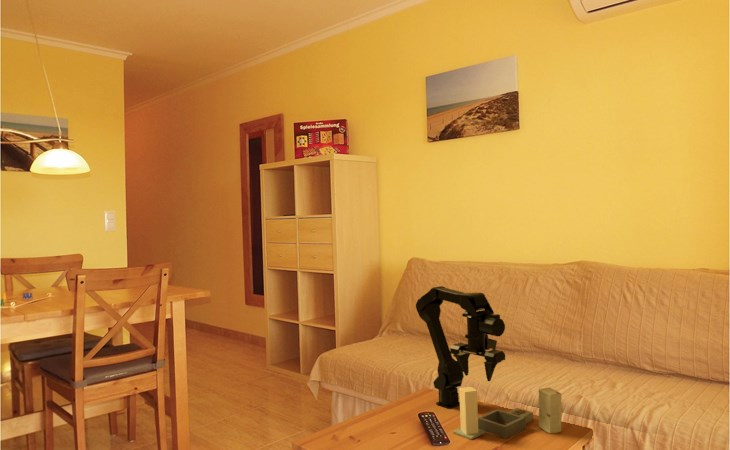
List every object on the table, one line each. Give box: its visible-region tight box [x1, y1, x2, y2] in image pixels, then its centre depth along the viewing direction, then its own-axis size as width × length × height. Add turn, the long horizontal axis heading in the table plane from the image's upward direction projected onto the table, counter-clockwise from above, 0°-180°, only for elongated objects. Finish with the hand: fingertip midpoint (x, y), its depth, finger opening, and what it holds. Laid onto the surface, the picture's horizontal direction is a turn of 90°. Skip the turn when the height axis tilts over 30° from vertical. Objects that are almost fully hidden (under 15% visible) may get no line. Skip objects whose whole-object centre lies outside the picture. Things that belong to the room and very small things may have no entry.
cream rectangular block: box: [458, 386, 479, 435], centre depth 168 cm, size 4×4×13 cm
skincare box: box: [538, 387, 562, 434], centre depth 168 cm, size 6×4×12 cm
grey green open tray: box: [478, 407, 534, 440], centre depth 173 cm, size 10×18×4 cm, turn 130°
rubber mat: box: [452, 427, 487, 440], centre depth 168 cm, size 7×7×1 cm
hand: (477, 378), depth 180 cm, fingers open, 9 cm apart
